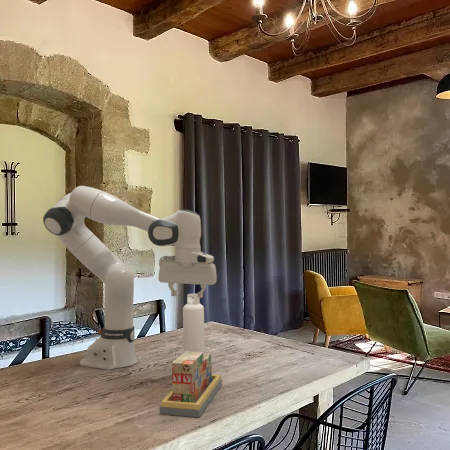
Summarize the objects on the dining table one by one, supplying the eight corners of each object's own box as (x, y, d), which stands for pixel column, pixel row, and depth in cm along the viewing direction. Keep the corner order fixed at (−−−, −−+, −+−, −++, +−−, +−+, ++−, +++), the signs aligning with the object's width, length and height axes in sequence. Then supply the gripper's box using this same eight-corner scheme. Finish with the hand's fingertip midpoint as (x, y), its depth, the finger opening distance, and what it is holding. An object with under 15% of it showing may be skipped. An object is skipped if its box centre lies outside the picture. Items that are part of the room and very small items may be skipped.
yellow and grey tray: (159, 414, 136) (159, 402, 136) (188, 382, 162) (188, 372, 162) (199, 417, 133) (199, 405, 133) (221, 385, 160) (221, 374, 160)
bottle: (179, 369, 177) (178, 295, 177) (189, 363, 185) (189, 292, 184) (198, 372, 174) (197, 296, 174) (208, 365, 181) (207, 293, 181)
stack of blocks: (194, 379, 160) (194, 343, 160) (212, 380, 158) (211, 344, 158) (172, 403, 139) (171, 361, 139) (192, 405, 137) (191, 363, 137)
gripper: (156, 256, 161) (155, 296, 161) (213, 258, 156) (212, 299, 156) (162, 255, 167) (161, 293, 167) (218, 257, 162) (217, 296, 162)
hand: (186, 296), depth 162 cm, fingers open, 8 cm apart
